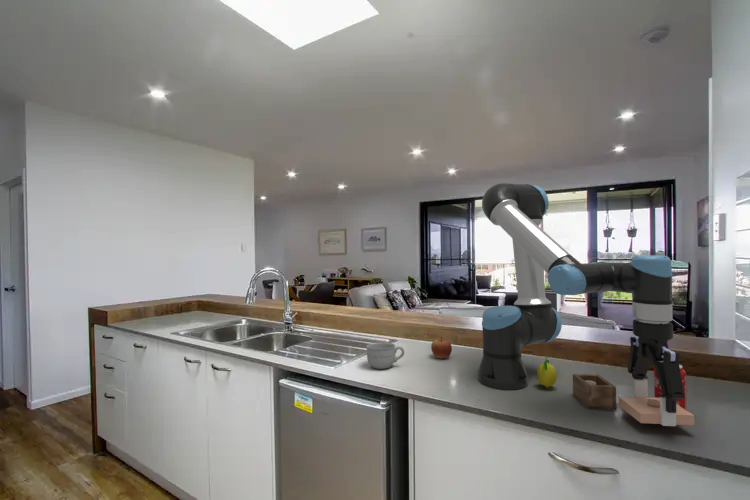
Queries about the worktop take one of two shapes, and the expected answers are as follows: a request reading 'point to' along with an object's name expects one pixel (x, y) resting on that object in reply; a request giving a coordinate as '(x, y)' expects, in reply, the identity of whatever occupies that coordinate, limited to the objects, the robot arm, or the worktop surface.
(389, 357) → the teacup
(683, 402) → the beverage can
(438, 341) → the apple
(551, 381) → the lemon
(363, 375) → the worktop surface
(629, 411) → the lid
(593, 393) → the walnut box
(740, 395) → the worktop surface
